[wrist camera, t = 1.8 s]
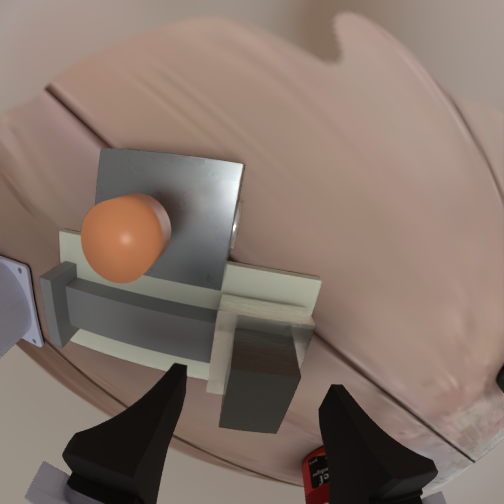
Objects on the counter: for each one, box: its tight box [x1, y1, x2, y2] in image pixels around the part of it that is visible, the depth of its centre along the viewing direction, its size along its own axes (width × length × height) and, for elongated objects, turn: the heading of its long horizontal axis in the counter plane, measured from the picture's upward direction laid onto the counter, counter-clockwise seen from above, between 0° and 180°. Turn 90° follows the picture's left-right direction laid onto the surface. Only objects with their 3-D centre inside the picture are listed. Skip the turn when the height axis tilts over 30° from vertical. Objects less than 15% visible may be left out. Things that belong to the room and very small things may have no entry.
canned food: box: [302, 447, 329, 504], centre depth 17 cm, size 8×8×11 cm
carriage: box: [206, 294, 315, 434], centre depth 14 cm, size 5×6×6 cm
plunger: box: [81, 193, 171, 283], centre depth 9 cm, size 3×3×2 cm
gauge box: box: [95, 148, 245, 291], centre depth 14 cm, size 7×6×3 cm
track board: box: [39, 229, 322, 380], centre depth 15 cm, size 17×9×4 cm, turn 79°
